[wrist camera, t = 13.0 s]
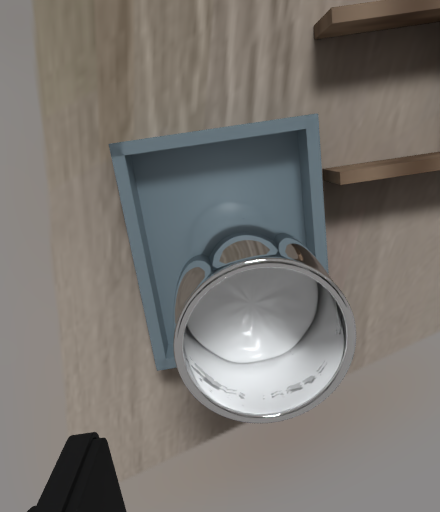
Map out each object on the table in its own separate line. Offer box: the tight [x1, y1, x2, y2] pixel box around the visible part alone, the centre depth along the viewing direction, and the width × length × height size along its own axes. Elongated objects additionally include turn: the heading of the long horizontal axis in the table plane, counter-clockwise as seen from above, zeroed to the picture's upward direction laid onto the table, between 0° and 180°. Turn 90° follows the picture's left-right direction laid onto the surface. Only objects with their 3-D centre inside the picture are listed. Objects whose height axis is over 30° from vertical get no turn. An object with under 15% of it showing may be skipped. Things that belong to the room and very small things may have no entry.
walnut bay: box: [314, 0, 440, 185], centre depth 25 cm, size 10×10×4 cm
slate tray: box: [109, 114, 328, 371], centre depth 27 cm, size 13×16×3 cm
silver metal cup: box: [173, 201, 356, 423], centre depth 21 cm, size 7×7×15 cm
